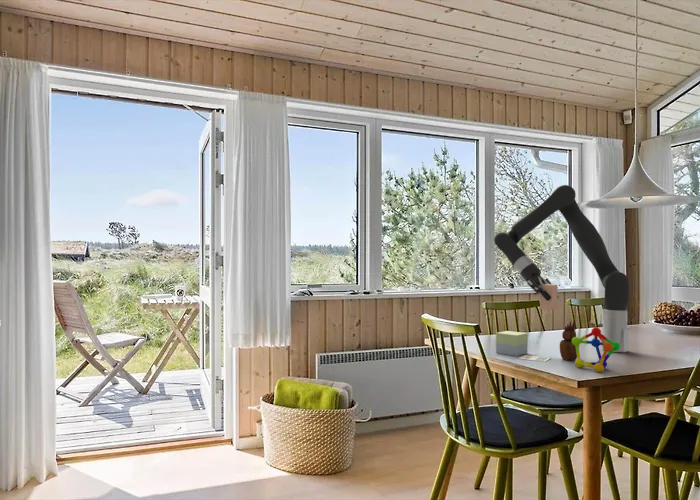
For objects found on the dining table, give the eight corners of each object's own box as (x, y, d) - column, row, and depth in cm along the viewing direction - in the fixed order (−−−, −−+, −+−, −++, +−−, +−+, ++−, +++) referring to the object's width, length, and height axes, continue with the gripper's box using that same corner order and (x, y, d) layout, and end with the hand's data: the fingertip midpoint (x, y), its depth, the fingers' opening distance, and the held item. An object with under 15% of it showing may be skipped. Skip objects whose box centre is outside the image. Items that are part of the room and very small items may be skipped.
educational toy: (623, 372, 195) (628, 330, 194) (606, 377, 187) (611, 333, 186) (580, 361, 207) (585, 321, 206) (563, 365, 198) (567, 324, 197)
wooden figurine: (578, 359, 213) (578, 320, 213) (579, 361, 208) (579, 321, 208) (559, 357, 215) (559, 319, 215) (559, 360, 210) (560, 320, 210)
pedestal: (527, 353, 225) (527, 333, 225) (516, 355, 218) (517, 335, 218) (506, 350, 231) (507, 330, 231) (496, 352, 224) (496, 332, 224)
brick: (557, 309, 229) (557, 284, 229) (552, 309, 225) (552, 285, 225) (545, 308, 232) (545, 284, 232) (540, 308, 228) (540, 284, 228)
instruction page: (550, 358, 213) (550, 357, 213) (545, 361, 206) (545, 361, 206) (524, 355, 219) (524, 354, 219) (518, 358, 212) (518, 357, 212)
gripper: (523, 262, 229) (550, 293, 220) (541, 262, 239) (568, 292, 230) (512, 275, 233) (537, 306, 224) (530, 274, 243) (555, 304, 234)
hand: (553, 298), depth 227 cm, fingers closed on brick, 5 cm apart
